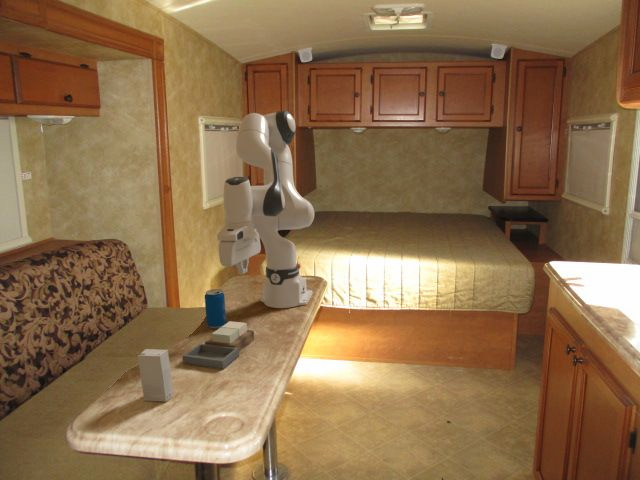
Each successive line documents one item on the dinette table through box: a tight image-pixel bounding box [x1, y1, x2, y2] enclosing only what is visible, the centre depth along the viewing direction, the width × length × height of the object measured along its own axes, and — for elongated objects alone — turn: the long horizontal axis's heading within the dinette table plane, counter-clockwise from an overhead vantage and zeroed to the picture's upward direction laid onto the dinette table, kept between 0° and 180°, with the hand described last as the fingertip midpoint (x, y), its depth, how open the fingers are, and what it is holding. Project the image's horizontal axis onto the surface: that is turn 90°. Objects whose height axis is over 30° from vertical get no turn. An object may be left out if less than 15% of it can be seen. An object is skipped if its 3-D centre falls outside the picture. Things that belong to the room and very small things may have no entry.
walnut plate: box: [204, 329, 255, 353], centre depth 158 cm, size 12×10×3 cm
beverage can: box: [204, 288, 227, 329], centre depth 174 cm, size 6×6×12 cm
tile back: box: [221, 320, 248, 337], centre depth 160 cm, size 5×6×2 cm
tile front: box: [211, 328, 238, 344], centre depth 155 cm, size 5×6×2 cm
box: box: [181, 343, 240, 371], centre depth 148 cm, size 9×13×2 cm
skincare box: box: [137, 348, 174, 403], centre depth 127 cm, size 6×4×12 cm
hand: (242, 273), depth 164 cm, fingers closed
